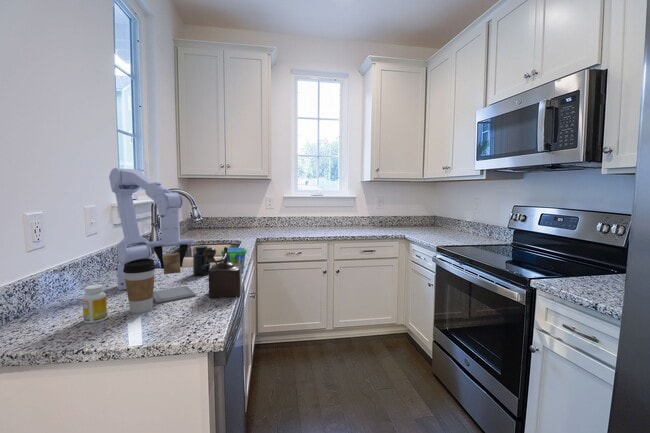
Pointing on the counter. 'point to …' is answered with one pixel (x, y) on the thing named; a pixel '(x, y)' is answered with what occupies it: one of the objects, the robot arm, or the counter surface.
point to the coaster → (173, 294)
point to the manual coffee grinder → (223, 276)
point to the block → (171, 263)
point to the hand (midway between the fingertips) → (171, 267)
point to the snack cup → (236, 256)
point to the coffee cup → (140, 284)
